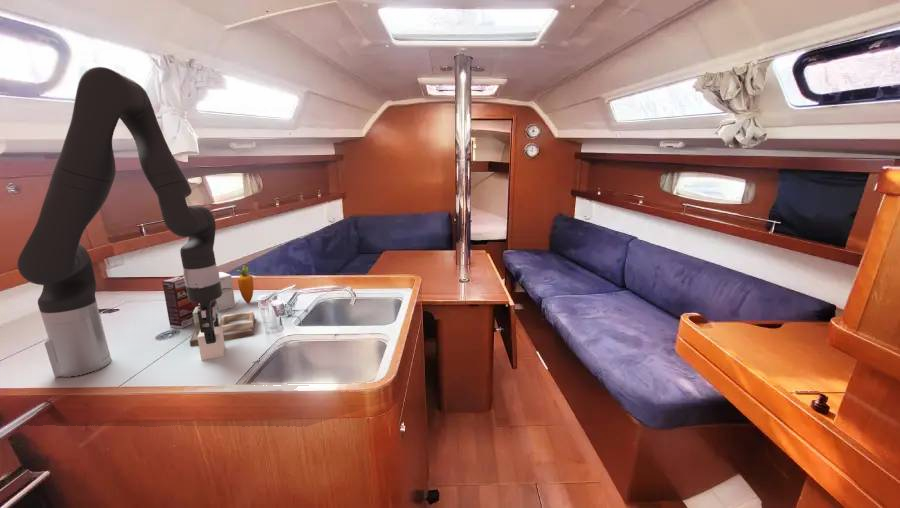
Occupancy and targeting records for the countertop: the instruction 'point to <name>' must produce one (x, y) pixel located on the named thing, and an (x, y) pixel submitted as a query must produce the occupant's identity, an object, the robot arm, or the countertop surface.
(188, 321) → the supplement box
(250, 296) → the carrot
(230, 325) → the base
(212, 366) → the countertop surface
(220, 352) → the cream block
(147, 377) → the countertop surface
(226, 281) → the supplement box
